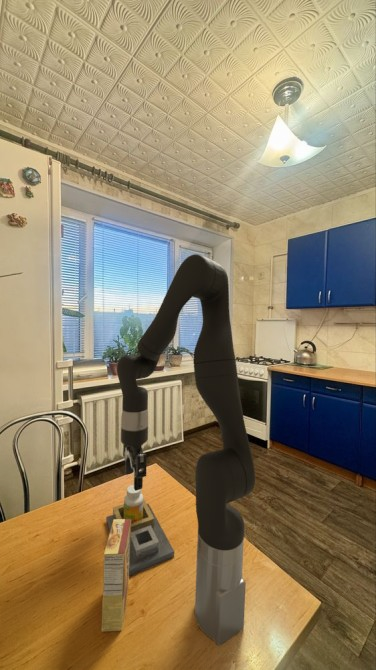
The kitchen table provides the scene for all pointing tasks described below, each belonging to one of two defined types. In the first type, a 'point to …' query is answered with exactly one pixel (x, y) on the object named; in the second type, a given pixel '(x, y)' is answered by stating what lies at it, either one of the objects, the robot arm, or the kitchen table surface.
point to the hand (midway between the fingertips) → (133, 480)
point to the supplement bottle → (133, 504)
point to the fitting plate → (144, 540)
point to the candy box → (116, 575)
